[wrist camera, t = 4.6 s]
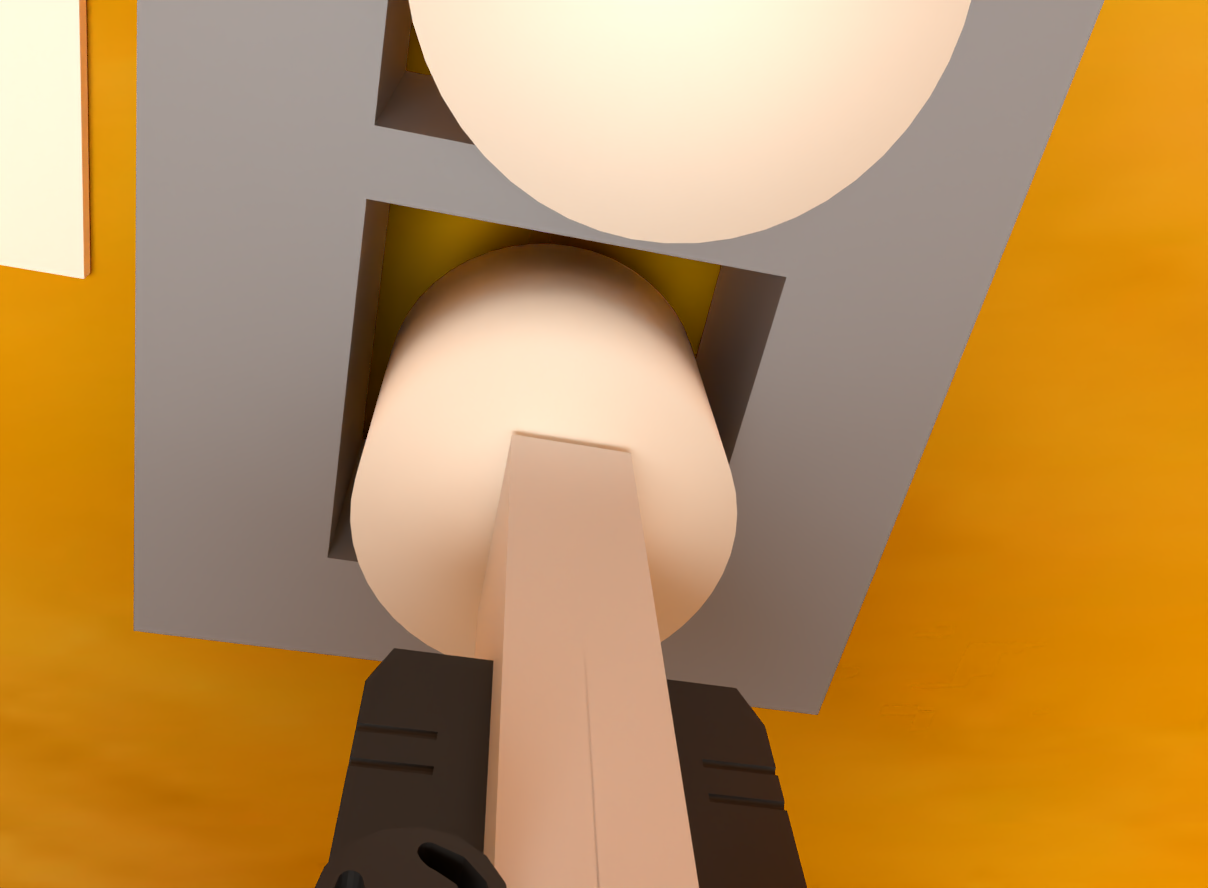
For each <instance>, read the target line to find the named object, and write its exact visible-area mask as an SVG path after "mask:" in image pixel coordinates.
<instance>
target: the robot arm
mask: <svg viewBox="0 0 1208 888" xmlns="http://www.w3.org/2000/svg"><path fill="white" fill-rule="evenodd" d="M775 768H776V767H775V763H774V759H773V756H772V752H771V748H770V744H769V740H768V736H767V733H766V729H765V726H764V724H763V723H762V722H761V720H760V719H759V718H758V716H757V715H756V714H755V712H754V711H753V710H752V708H751V707H750V706H749V704H748V703H747V702H746V700H745V699H744V698H743V696H742V695H741V694H740V692H739V691H738V690H737V688H732V687H724V686H716V685H708V684H700V683H693V682H685V681H677V680H669V679H666V674H665V668H664V661H663V655H662V649H661V642H660V636H659V629H658V623H657V617H656V610H655V604H654V598H653V591H652V585H651V578H650V572H649V566H648V559H647V553H646V547H645V540H644V534H643V527H642V521H641V515H640V508H639V502H638V496H637V489H636V483H635V477H634V470H633V464H632V457H631V453H627V452H621V451H614V450H608V449H602V448H595V447H589V446H583V445H576V444H570V443H564V442H557V441H551V440H545V439H538V438H532V437H526V436H519V435H513V434H512V436H511V442H510V447H509V452H508V457H507V462H506V467H505V473H504V478H503V483H502V488H501V493H500V498H499V504H498V509H497V514H496V519H495V524H494V529H493V535H492V540H491V545H490V550H489V555H488V561H487V566H486V571H485V576H484V581H483V586H482V592H481V597H480V602H479V607H478V615H477V629H476V642H475V655H474V658H469V657H461V656H453V655H446V654H438V653H430V652H422V651H414V650H406V649H398V648H394V649H393V650H392V651H391V652H390V653H389V654H388V655H387V657H386V658H385V659H384V660H383V661H382V662H381V664H380V665H379V666H378V667H377V668H376V669H375V671H374V672H373V673H372V674H371V675H370V676H369V677H368V679H367V680H366V681H365V686H364V691H363V696H362V701H361V706H360V710H359V715H358V720H357V726H356V731H355V735H354V740H353V745H352V750H351V755H350V760H349V766H348V769H347V774H346V779H345V784H344V789H343V794H342V799H341V803H340V808H339V813H338V818H337V823H336V828H335V833H334V838H333V843H332V848H331V852H330V857H329V862H328V864H327V865H326V866H325V867H324V869H323V871H322V873H321V875H320V878H319V880H318V882H317V884H316V886H315V888H807V886H806V882H805V878H804V874H803V871H802V867H801V863H800V859H799V855H798V851H797V848H796V844H795V840H794V836H793V832H792V828H791V825H790V821H789V817H788V813H787V811H785V810H784V798H783V794H782V790H781V786H780V782H779V779H778V776H776V775H775Z"/></svg>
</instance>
